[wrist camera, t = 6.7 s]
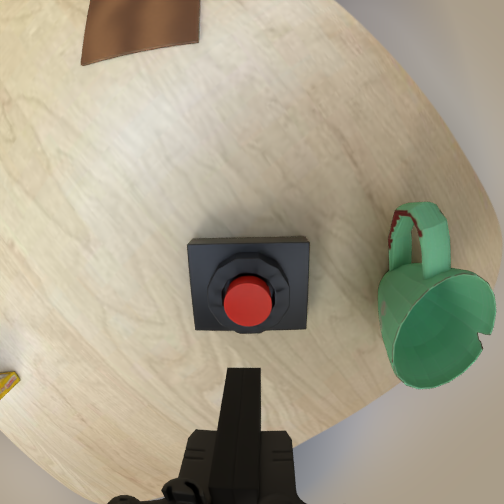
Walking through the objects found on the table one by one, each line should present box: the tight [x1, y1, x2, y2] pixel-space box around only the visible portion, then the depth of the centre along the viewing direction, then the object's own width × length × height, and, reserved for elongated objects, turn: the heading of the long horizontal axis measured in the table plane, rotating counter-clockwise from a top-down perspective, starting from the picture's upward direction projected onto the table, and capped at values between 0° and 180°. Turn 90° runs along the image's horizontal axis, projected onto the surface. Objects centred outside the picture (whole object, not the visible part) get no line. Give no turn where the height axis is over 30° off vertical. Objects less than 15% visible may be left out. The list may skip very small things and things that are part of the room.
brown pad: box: [81, 0, 200, 66], centre depth 21 cm, size 12×12×1 cm
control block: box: [187, 237, 310, 334], centre depth 26 cm, size 10×8×4 cm
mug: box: [378, 202, 496, 389], centre depth 23 cm, size 15×10×10 cm
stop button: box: [224, 275, 272, 326], centre depth 24 cm, size 4×4×2 cm
